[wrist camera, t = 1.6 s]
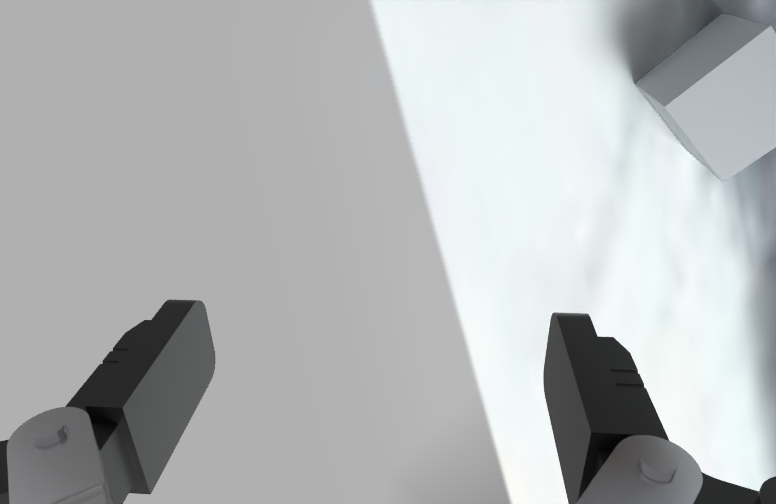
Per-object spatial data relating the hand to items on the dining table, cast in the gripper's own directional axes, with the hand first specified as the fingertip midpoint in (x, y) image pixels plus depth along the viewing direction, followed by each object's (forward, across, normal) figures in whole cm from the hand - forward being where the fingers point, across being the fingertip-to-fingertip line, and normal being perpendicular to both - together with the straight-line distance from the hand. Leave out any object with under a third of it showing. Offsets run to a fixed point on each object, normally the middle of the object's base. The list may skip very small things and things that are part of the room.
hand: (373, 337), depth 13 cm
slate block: (+22, -15, -1) cm, 26 cm away
